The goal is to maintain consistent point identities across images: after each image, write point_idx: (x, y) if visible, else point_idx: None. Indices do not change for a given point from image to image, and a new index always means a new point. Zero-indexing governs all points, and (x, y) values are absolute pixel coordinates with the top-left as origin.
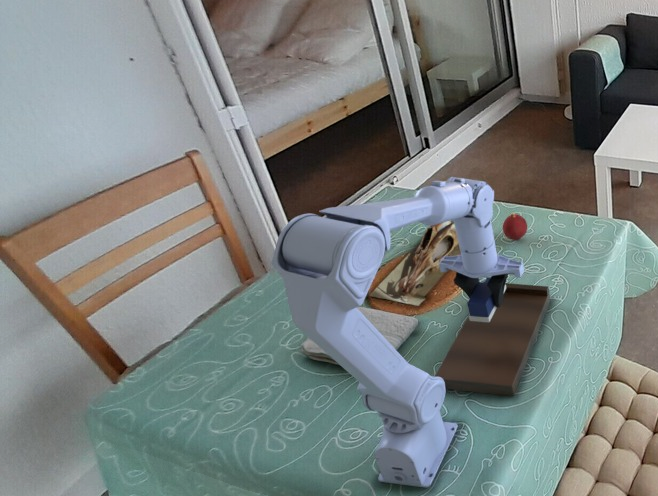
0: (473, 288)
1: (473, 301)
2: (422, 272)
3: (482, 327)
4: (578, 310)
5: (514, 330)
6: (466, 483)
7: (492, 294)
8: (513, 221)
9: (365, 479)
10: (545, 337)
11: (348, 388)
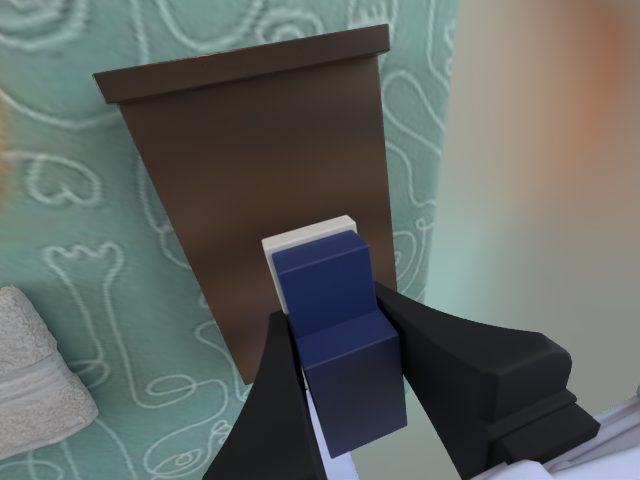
0: (308, 414)
1: (352, 443)
2: None
3: (252, 248)
4: (445, 58)
5: None
6: None
7: (414, 391)
8: None
9: None
10: (392, 178)
11: (67, 443)
